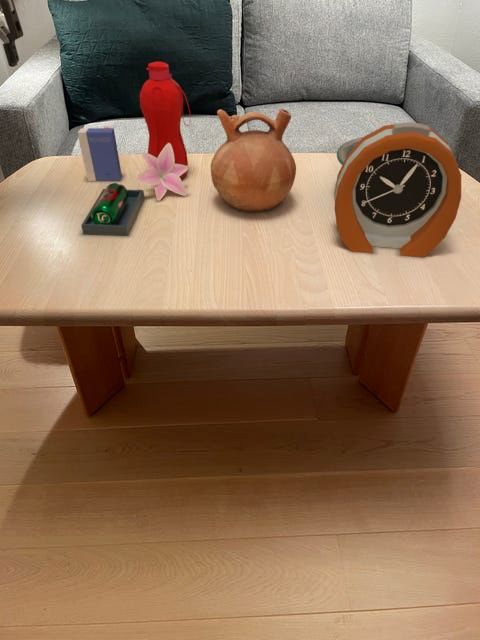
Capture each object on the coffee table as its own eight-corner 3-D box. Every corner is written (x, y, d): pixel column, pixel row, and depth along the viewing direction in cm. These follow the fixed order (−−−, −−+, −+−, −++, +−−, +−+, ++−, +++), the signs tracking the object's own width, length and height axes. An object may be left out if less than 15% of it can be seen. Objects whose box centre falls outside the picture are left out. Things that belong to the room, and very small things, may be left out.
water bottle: (192, 183, 113) (184, 69, 96) (147, 182, 113) (132, 68, 97) (196, 167, 120) (190, 58, 103) (153, 166, 120) (141, 57, 104)
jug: (211, 222, 99) (207, 125, 86) (212, 184, 113) (209, 95, 100) (297, 220, 100) (307, 125, 87) (288, 183, 113) (295, 95, 100)
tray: (127, 235, 95) (126, 226, 94) (83, 234, 95) (81, 225, 94) (144, 198, 107) (143, 190, 106) (105, 197, 107) (103, 188, 106)
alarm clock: (329, 249, 92) (347, 132, 77) (329, 224, 99) (346, 112, 84) (446, 259, 89) (488, 140, 74) (437, 232, 97) (474, 119, 82)
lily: (130, 203, 107) (136, 175, 99) (136, 164, 112) (142, 135, 104) (181, 215, 111) (191, 189, 103) (184, 177, 116) (194, 149, 108)
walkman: (121, 176, 116) (113, 126, 108) (120, 180, 114) (111, 130, 106) (89, 176, 116) (79, 126, 108) (87, 181, 114) (76, 130, 106)
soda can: (119, 216, 93) (133, 189, 102) (95, 203, 91) (111, 176, 100) (109, 234, 96) (124, 206, 105) (86, 222, 94) (103, 194, 103)
